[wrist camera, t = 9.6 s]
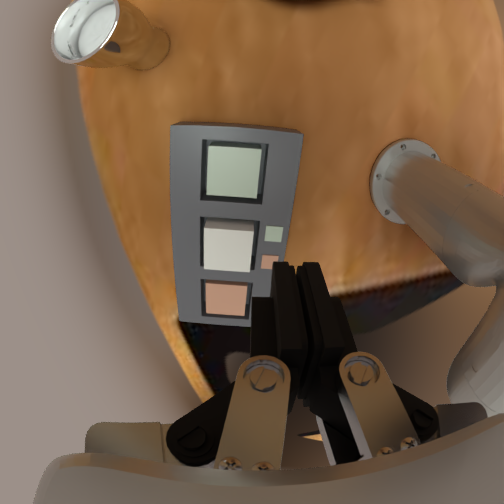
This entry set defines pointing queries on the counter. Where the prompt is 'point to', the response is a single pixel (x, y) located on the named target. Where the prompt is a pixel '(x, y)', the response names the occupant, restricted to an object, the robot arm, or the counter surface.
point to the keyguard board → (229, 211)
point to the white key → (228, 244)
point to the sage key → (233, 169)
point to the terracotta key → (226, 297)
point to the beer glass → (108, 36)
